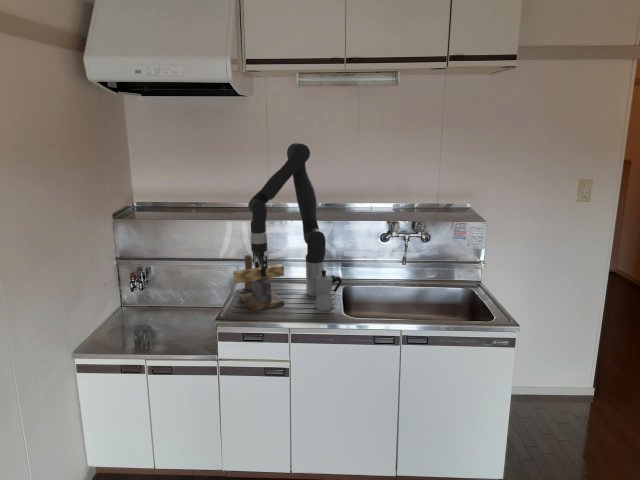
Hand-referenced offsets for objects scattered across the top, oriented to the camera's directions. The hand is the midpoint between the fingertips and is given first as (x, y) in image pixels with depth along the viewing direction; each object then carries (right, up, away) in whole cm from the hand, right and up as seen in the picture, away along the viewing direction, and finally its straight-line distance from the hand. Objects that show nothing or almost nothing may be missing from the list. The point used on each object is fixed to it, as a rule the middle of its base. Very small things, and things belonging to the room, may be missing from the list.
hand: (260, 274), depth 232 cm
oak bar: (-1, -2, 0) cm, 2 cm away
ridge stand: (0, -14, +4) cm, 14 cm away
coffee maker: (+31, -15, -4) cm, 35 cm away
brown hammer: (-5, -10, +21) cm, 23 cm away
